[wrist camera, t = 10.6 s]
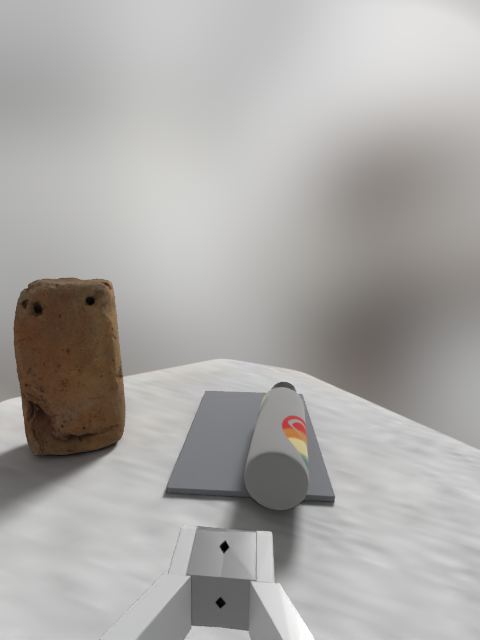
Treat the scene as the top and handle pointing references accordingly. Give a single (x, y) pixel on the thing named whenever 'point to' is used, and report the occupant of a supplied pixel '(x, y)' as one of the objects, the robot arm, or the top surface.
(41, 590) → the top surface
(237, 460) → the mat
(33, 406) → the block
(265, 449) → the lotion bottle
